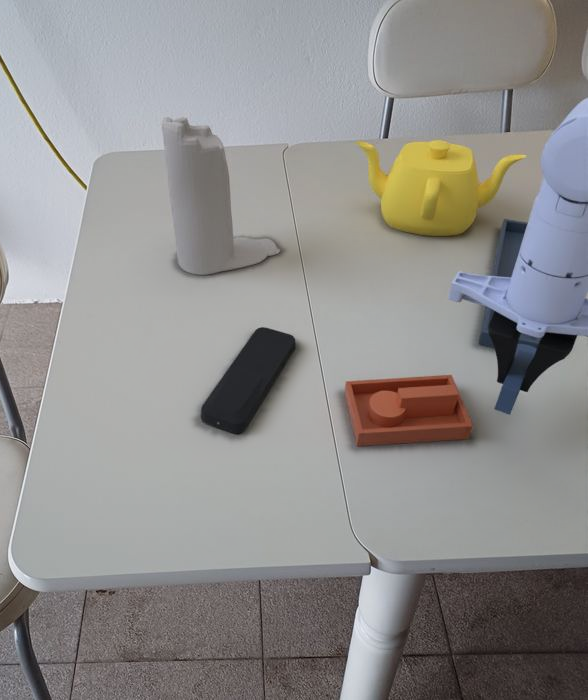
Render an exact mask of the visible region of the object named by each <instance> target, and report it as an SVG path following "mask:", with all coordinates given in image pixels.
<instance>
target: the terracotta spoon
mask: <svg viewBox="0 0 588 700" xmlns="http://www.w3.org/2000/svg"><path fill="white" fill-rule="evenodd" d="M456 387H457V386H456ZM456 387H455V385H441V386H425V387H410V388H398V393H395V392H392V391H379V392H376V393H375V394H373V395H372V396H371V398H370V401H369V408H368V416H369V418H370V419H371V421H372V422H373V423H375V424H376V425H378V426H381V427H385V428H392V427H396V426H398V425H400V424H401V423H402V422H403V420H404V418H413V417H429V416H444V415H453V413H454V409H455V406H456V402H457V399H458V395H459V394H460V393H459V394H458V392H457V389H458V388H457V389H456Z"/></svg>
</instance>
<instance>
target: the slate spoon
mask: <svg viewBox="0 0 588 700" xmlns="http://www.w3.org/2000/svg"><path fill="white" fill-rule="evenodd" d="M536 350H537V349H536V348H534V347H532V346H529V345H525V344H518V345H517V349H516V354H515V358H514V360H513V363H512V365H511V367H510V370H509V372H508V374H507V376H506V379H505V381H504V383H503V384H502V386H501V388H500V391H499V394H498V396H497V400H496V403H495V404H494V405H495V406H494V410H495V411H498V412H500V413H502V414H506V415H508V416H510V415H511V414H512V411H513V410H514V406H515V404H516V402H517V398H518V396H519V394H520V391H521V390H520V388H521V385H522V382H523V380H524V377H525V375H526V373H527V370H528V368H529V365H530V363H531V361H532V359H533V357H534V355H535V353H536Z"/></svg>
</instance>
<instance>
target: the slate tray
mask: <svg viewBox="0 0 588 700" xmlns="http://www.w3.org/2000/svg"><path fill="white" fill-rule="evenodd" d="M527 224H528V221H521V220H514V219H508V218H503V219H502V223H501V227H500V231H499V235H498V241H497V247H496V251H495V255H494V261H493V265H492V266H493V267H492V272H491V276H498V277H509V278H511V277H512V274H513V270H514V267H515V264H516V260H517V257H518V254H519V251H520V247H521V243H522V240H523V237H524V234H525V230H526V227H527ZM493 313H494V310H493V309H491V308H489V307H486V306H485V308H484V314H483V317H482V318H483V319H482V324H481V328H480V334H479V339H478V345H480V346H485V347H489V348H493V349H495V348H494V345H493V342H492V340H491V338H490V336H489V333H488V326H489V323H490V321H491V319H492V316H493ZM540 339H541V337H540V338H537V337H533V336H530V335H527V334H523V333H521V335H520V338H519V341H518V344H525V345H529V346H532V347H534V348H536V349H537V347H538V344H539V342H540Z"/></svg>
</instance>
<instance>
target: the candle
mask: <svg viewBox="0 0 588 700" xmlns="http://www.w3.org/2000/svg"><path fill="white" fill-rule="evenodd" d="M161 131H162V141H163V148H164V156H165V164H166V175H167V184H168V192H169V200H170V207H171V208H170V209H171V214H172V221H173V222H172V223H173V232H174V239H175V247H176V256H177V263H178V267H180V268H181V270H183V271H184V272H186V273H189V274H193V275H199V276H201V275H202V276H205V275H212V274H217V273H220V272H221V273H222V272H226V271H227V272H228V271H231V270H237V269H242V268H246V267H249V266H253V265H257V264H260V263H261V262H263V261H265V260H266V259H267V257H270V256H275V255H277V254H279V253H280V252H281V249H279V248H278V247H277V244H276V243H275V242H274V241H273V240H272V239H270V238H256V239H253V238H250V237H245V236H244V237H242V236H240V237H234V227H233V226H234V225H233V216H232V215H233V214H232V201H231V200H232V199H231V183H230V172H229V167H228V161H227V156H226V150H225V147H224V145H223V142H222V141H221V138H219V136H218V135H216V134H213V132H212V129H211V127H210V125H206V124H200V125H199V124H198V125H190V123H189V120H188V118H187V117H184V116H183V117H178V118H175V119H172V118H171V117H169V116H167V117H166V116H165V117H163V119H162V122H161Z"/></svg>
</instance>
